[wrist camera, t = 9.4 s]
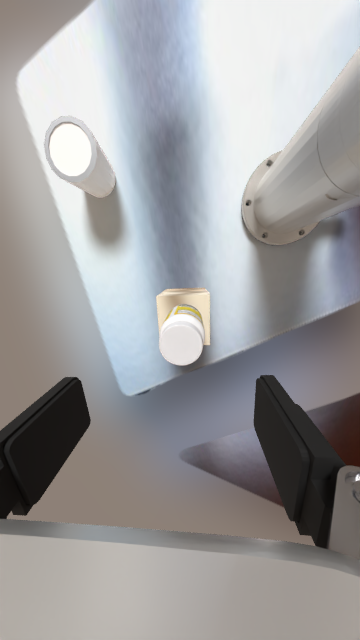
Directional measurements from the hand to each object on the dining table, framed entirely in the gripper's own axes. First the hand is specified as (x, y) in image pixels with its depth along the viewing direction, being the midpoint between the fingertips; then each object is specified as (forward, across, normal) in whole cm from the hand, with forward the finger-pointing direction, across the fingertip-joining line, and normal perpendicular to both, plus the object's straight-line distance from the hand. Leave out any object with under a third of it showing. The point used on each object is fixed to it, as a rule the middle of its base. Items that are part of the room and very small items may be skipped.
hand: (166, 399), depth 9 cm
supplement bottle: (+15, 0, 0) cm, 15 cm away
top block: (+20, 0, 0) cm, 20 cm away
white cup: (+25, +13, -22) cm, 36 cm away
